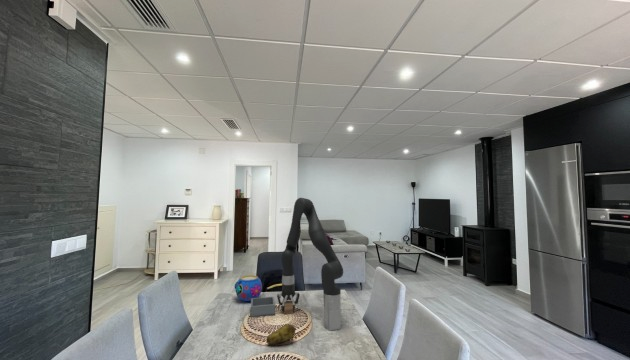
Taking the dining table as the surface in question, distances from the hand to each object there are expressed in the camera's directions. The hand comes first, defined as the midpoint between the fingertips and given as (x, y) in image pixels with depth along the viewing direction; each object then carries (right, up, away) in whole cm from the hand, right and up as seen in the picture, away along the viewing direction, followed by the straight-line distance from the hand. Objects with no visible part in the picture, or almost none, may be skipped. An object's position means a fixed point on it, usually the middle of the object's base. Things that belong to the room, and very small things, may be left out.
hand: (288, 311), depth 159 cm
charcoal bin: (-16, -1, +2) cm, 16 cm away
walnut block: (0, -1, 0) cm, 1 cm away
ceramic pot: (-29, -3, +21) cm, 36 cm away
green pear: (0, +2, -34) cm, 34 cm away
